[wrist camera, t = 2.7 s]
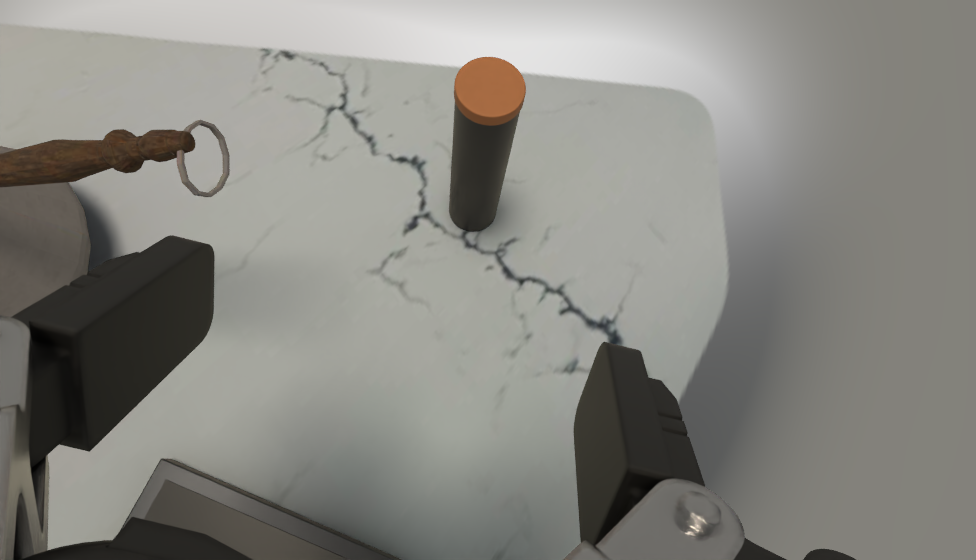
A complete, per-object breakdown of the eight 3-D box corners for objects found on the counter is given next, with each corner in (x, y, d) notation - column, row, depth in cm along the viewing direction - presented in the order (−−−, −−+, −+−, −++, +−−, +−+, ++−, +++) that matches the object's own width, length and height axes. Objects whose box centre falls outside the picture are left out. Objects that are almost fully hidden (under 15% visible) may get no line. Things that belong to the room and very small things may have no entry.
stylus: (503, 199, 33) (535, 72, 22) (485, 239, 32) (510, 127, 21) (459, 181, 33) (471, 46, 22) (440, 221, 32) (443, 100, 22)
